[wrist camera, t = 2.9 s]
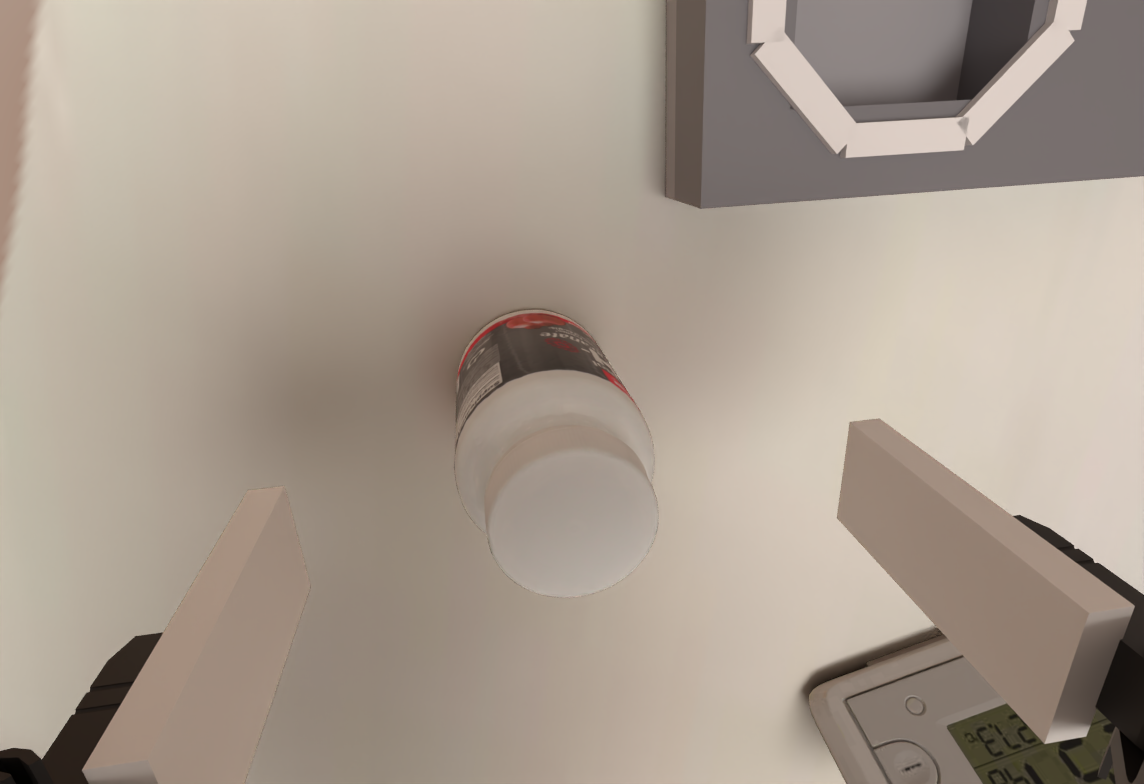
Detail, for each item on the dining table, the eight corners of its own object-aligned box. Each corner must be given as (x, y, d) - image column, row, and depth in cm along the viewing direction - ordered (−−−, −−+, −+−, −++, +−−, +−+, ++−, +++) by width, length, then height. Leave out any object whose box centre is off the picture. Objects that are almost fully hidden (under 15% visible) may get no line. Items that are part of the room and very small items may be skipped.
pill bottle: (628, 339, 24) (731, 468, 15) (566, 462, 25) (626, 647, 16) (490, 281, 22) (511, 386, 13) (433, 416, 24) (417, 593, 15)
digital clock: (1109, 568, 32) (1389, 757, 23) (1072, 700, 36) (1300, 914, 26) (802, 629, 31) (963, 863, 21) (794, 762, 34) (928, 1016, 24)
